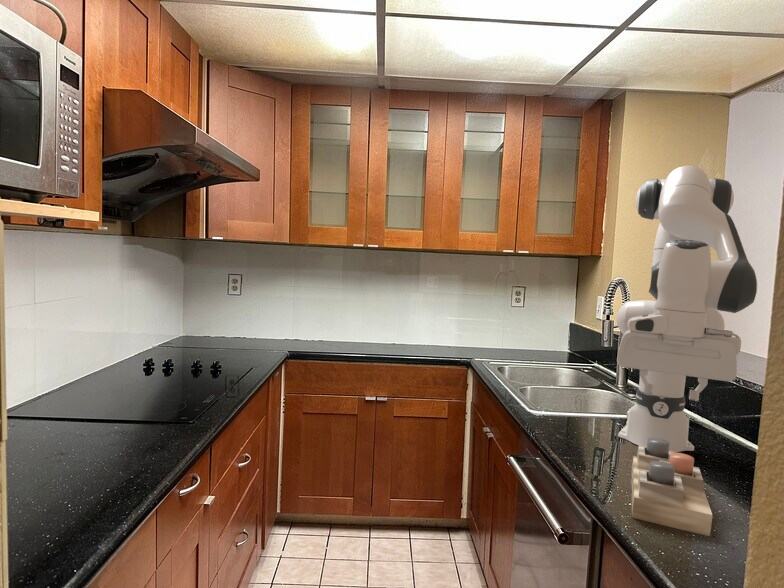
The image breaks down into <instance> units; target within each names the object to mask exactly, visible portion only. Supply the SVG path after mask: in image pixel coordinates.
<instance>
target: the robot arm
mask: <svg viewBox="0 0 784 588" xmlns="http://www.w3.org/2000/svg"><path fill="white" fill-rule="evenodd" d="M734 200H735V194H734V191H733V188H732V184H731V182H729V180H726V179H722V178H717V177H716V178H715V177H714V178H713V179H712V178H709V177H708V175H707V173H706V172H705V171H704V170H703V169H702V168H700V167H697V166H694V165H683V166H680V167H676V168H675V169H673V170H672V171H671V172H670V173H669V174H668V175H667V176H666V178H662V179H659V178H654V179H653V178H652V179H649V180H645V181H644V182H643V183H642V184H641V185H640V187H639V189H638V191H637V193H636V195H635V207H636V210H637V212H638V214H639V216H640V217H641V218H643V219H645V220H646V219H647V220H652V221H653V220H659V223H658V228H657V229H656V234H655V239H654V244H653V245H654V246H653V254H652V262H651V267H650V269H651V272H650V273H651V274H650V275H651V277H650V285H649V289H648V293H649V294H650V295H651V296H652V298H654V299H655V300H651V299H638V300H628V301H626V302H624V303H623V304H621V306H620V307H619V310H618V311H617V315H616V324H617V327H618V330H620V333H621V334H622V336H621V339H620V343H619V347H618V351H617V357H616V362H617V364H618V366H619V367H620V368H621V367H622V368H629V369H634V370H635V369H636V370H639V383H638V388H637V390H636V393H635V404H634V405H632V406H631V408H629V409H628V410H627V412H626V419H627V420H626V422H625V425H624V426H623V428H622V429H621V430H620V431H618V434H617V437H618V438H621V439H624V440H626V441H629V442H630V443H632V444H635V445H637V446H638V445H642V446H647V439H648V438H659V439H663V440H666V441H668V442H669V443H670V444H669V451H673V452H676V453H682V452H685V451H689V452H691V451H692V452H693V451H695V445H693V444H692V442H690V441H689V429H690V419H689V418H688V416H687V415H686V414H685V412H684V410H685V405H686V396H685V395H684V394H685V388H686V387H685V386H686V379H687V377H693V378H697V382H698V385H697V386H696V388H695V389H689V393H688V399H689V401H695V402H699V398H700V393H702V392H703V390H704V389H705V388H706V387H707V386H708V384H709V383H708V381H709V380H715V381H722V382H733V381H734V380H735V379H736V378H737V371H738V370H737V367H738V365H737V363H738V362H737V355H738V354H739V353H740V351H741V347H742V340H741V337H740V336H739V335H738V334H737V333H735V332H733V331H732V330H726V329H725V327H726V326H725V320H724V317H723V316H722V314H721V312H728V313H732V314H736V313H738V312H741V311H742V310H744V309H746V308H748V307H749V306H750V305H752V304H754V302H755V299H756V296H757V293H758V279H757V276H756V272H755V270H754V267H753V266H752V265H751V263H750V262H749V260H748V257H747V254H746V252H745V249H744V247H743V244H742V241H741V237H740V235H739V232H738V229H737V227H736V225H735V223H734V220H733V218H732V216H730V215H729V212H730V211H731V209H732V207H733V205H734ZM711 248H712V249H714V250H715V251H716V255H717V259H718V260H712V257H711V255H712V254H711Z"/></svg>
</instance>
